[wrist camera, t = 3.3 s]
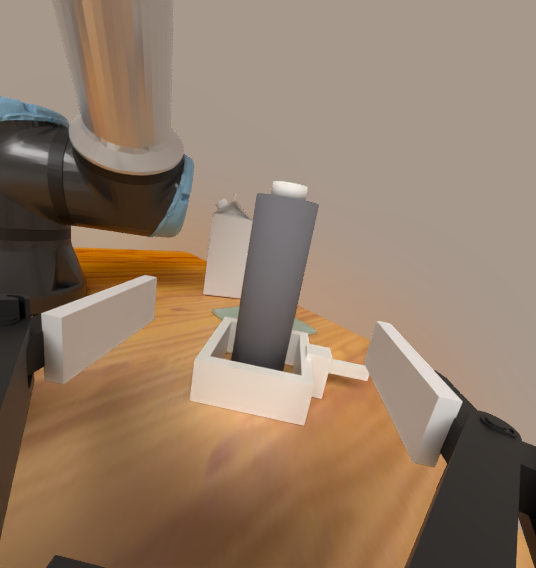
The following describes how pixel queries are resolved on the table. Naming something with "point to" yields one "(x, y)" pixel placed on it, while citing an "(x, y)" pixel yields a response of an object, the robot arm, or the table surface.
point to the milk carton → (227, 250)
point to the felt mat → (233, 313)
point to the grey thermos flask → (273, 275)
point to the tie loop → (265, 377)
